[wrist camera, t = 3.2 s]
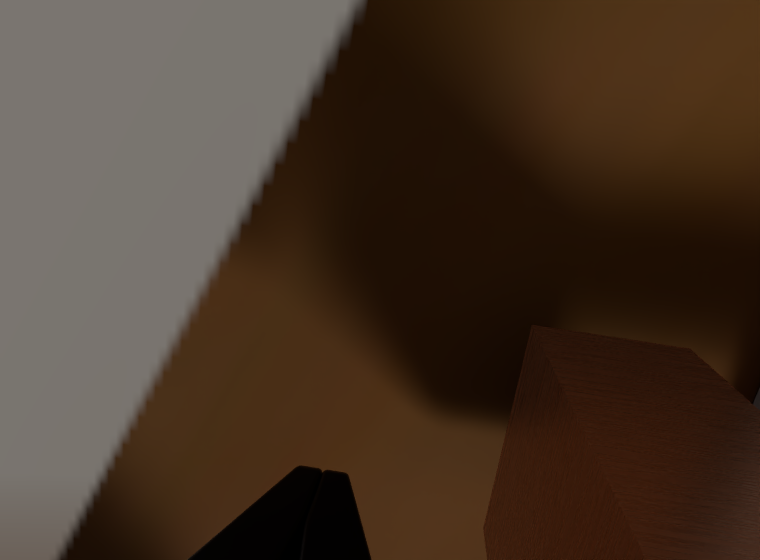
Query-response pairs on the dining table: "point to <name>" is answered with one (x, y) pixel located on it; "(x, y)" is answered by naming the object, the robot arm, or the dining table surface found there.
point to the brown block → (624, 456)
